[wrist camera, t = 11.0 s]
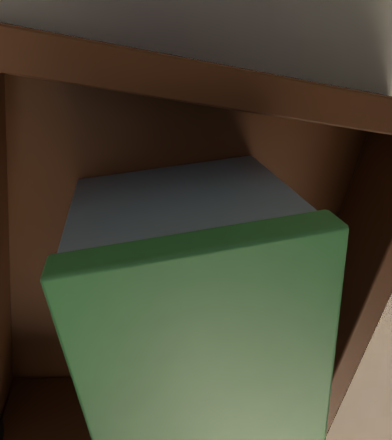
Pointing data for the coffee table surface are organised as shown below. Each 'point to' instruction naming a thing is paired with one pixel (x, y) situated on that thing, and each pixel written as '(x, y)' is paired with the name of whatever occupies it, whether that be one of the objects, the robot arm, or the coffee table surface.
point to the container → (198, 304)
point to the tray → (158, 158)
